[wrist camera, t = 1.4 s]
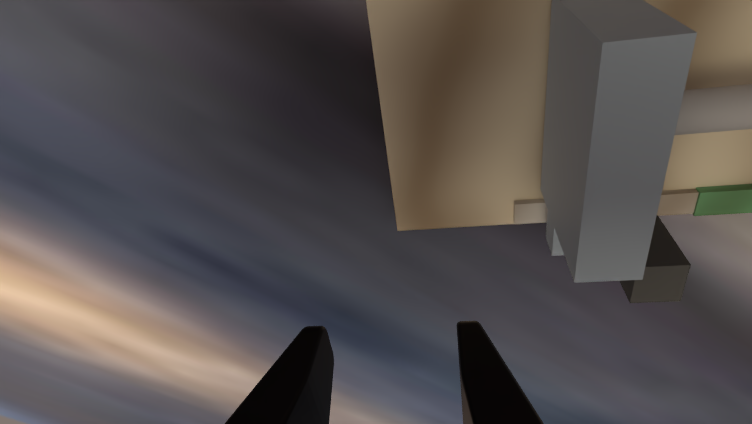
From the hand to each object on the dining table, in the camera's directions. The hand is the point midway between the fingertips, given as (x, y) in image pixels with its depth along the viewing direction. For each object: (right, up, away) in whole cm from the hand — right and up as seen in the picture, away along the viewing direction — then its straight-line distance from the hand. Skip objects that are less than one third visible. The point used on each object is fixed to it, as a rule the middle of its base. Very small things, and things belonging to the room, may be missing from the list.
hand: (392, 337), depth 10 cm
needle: (+9, +2, +10) cm, 14 cm away
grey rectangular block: (+10, +6, +8) cm, 14 cm away
